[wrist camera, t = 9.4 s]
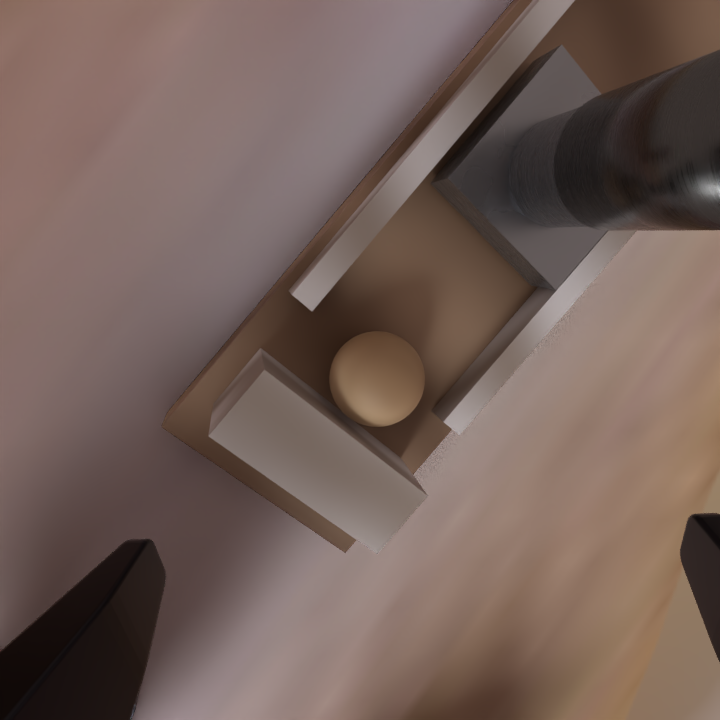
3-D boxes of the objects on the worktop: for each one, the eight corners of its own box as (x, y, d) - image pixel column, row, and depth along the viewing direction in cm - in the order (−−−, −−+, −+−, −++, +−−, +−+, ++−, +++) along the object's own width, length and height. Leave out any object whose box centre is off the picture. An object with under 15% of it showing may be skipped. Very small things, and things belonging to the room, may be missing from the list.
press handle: (530, 285, 19) (896, 352, 9) (430, 182, 18) (721, 108, 7) (627, 173, 19) (1123, 98, 8) (533, 60, 18) (992, -207, 7)
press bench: (338, 531, 22) (362, 605, 17) (166, 412, 19) (146, 464, 15) (732, 74, 21) (859, 33, 17) (605, -110, 19) (715, -212, 14)
